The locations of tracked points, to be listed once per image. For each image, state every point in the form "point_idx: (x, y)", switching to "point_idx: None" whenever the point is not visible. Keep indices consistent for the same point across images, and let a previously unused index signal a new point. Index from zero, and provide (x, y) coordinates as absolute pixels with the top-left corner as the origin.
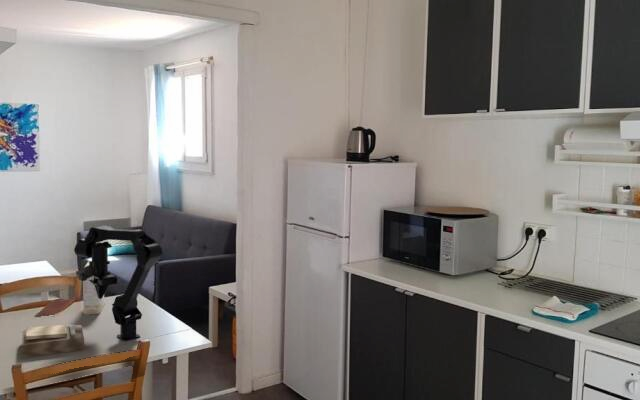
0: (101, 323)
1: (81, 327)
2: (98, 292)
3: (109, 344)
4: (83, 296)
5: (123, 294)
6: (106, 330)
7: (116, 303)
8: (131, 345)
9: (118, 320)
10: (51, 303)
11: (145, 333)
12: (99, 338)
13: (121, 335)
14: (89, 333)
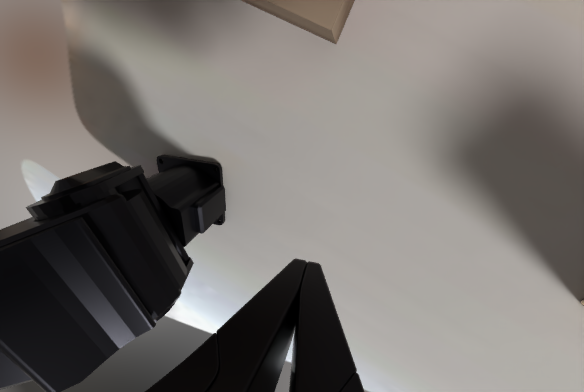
0: (433, 222)
1: (272, 1)
2: (248, 316)
3: (154, 93)
4: None
5: (12, 360)
6: (324, 181)
7: (11, 234)
8: (111, 147)
9: (91, 169)
10: None
11: (199, 243)
12: (246, 101)
13: (180, 166)
14: (346, 104)
